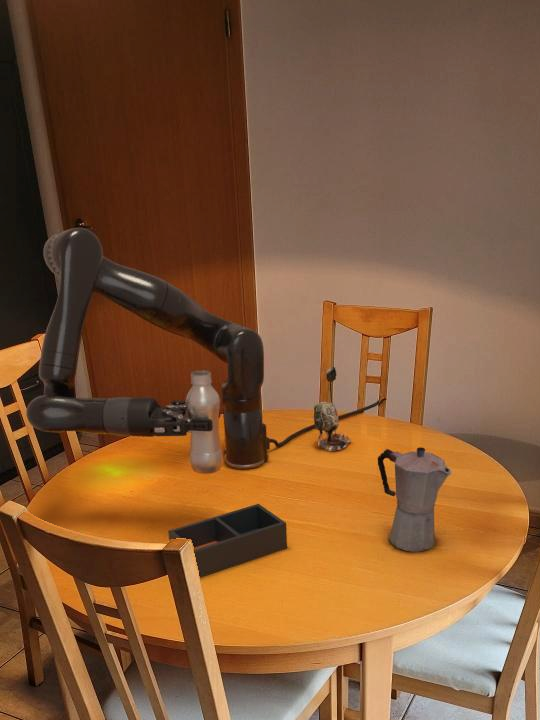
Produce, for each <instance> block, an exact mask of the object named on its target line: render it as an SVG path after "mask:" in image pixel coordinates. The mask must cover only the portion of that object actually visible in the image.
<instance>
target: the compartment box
mask: <svg viewBox="0 0 540 720" xmlns="http://www.w3.org/2000/svg"><path fill="white" fill-rule="evenodd" d="M287 533H288V532H287V522H286V521H284V520H283V519H281V518H280V517H279V516H277V515H276V514H274V513H273V512H271V511H270V510H268V509H267V508H266V507H264V506H263V505H261V504H260V503H256V504H252V505H250V506H249V505H248V506H246V507H243V508H239V509H235V510H233V511H230V512H226V513H223V514H220V515H216V516H213V517H209V518H205V519H202V520H199V521H196V522H192V523H190V524H186V525H183V526H180V527H175V528H172V529H170V530H168V533H167V534H168V541H170V540H171V539H176V538H186V539H191V540H192V543H193V546H194V553H195V557H196V562H197V566H198V570H199V576H200V578H202V577H205V576H206V577H207V576H209V575H212V574H214V573H218V572H221V571H223V570H224V571H225V570H227V569H230V568H232V567H235V566H238V565H242V564H244V563H248V562H251V561H253V560H256V559H259V558H262V557H265V556H269V555H272V554H274V553H277V552H279V551H282V550H283V551H284V550H286V549H288V540H287V539H288V538H287V536H288V535H287Z"/></svg>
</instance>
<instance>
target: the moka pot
mask: <svg viewBox="0 0 540 720" xmlns="http://www.w3.org/2000/svg"><path fill="white" fill-rule="evenodd" d="M385 459H389V461H390V462H392V463H394V479H395V481H394V482H395V490H391V489H390V486H389V483H388V475H387V471H386V466H385V463H384V460H385ZM445 463H446V461H445V459H444V458H442V457H440V456H438V455H436V454H434V453H432V452H426V448H425V447H421V446H420V447H417V448H416V451H409V452H405V453H402V452H400V451H393V450H391V449H389V448H386V449H385V450H383V452H381V453H380V455H378V456H377V466H378V470H379V472H380V477H381V480H382V485H383V491H384V493H385V494H386V495H389V496H391V497H396V504H397V505H396V508H395V512H394V517H393V521H392V525H391V529H390V533H389V539H388V540H389V542H390V543H391V544H392V546H394V547H395V548H397V549H399V550H402V551H405V552H411V553H412V552H413V553H416V552H417V553H418V552H420V553H421V552H425V551H428V550H429V549H431V548H432V547H433V546H434V544H435V539H436V536H435V535H436V534H435V505H436V502H437V498H438V494H439V492H440V491H439V490H440V489H441V488H442V486H443V484H444V483H445V482H446V480H447V479H448V477H449V476H451V475H452V474H453V472H452V469H450V467H448V466H447V465H445Z"/></svg>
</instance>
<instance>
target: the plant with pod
mask: <svg viewBox="0 0 540 720" xmlns="http://www.w3.org/2000/svg"><path fill="white" fill-rule="evenodd" d="M325 378H326V380H327V382H329V395H330V401H320V402H319V403H316V404H315V405H314V407H313V423H314V424H315V428H314V429H315V430H316V431H317V430H318V431H319V435H318V437H317V438H318V444H317V446H318V447H319V448H320V449H322V450H324V451H328V452H329V451H330V452H335V451H336V452H337V451H340V450H342V449H343V448H346V447H347V446H348V444H350V442H352V439H350V437H349V436H348V435H347V436H345V434H344V433H343V432H339V433H337V432H336V431H337V430H338V428H339V426H340V425H339V424H340V423H339V420H340V419H339V418H338V416H339V415H338V411H337V407H336V405H335V403H333V393H332V383H333V382H334V381H335V380H337V370H336V367H335V366H332V365H331V366H330V367H328V369H327V370H326V373H325ZM338 419H339V420H338ZM314 424H313V425H314ZM323 432H324V433H325V434H326V436H327V437H326V438H323V439H322V437H323V434H324V433H323Z"/></svg>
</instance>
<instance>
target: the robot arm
mask: <svg viewBox="0 0 540 720" xmlns="http://www.w3.org/2000/svg"><path fill="white" fill-rule="evenodd" d="M43 259H44V262H45V264H46V266H47V268H49V270H50V271H51V272H52V273H53V274H54V275H55V276H57V277H58V278H60V280H59V290H58V295H57V299H56V303H55V306H54V309H53V312H52V314H51V316H50V319H49V322H48V324H47V327H46V330H45V333H44V337H43V341H42V345H41V346H42V347H41V351H40V359H39V366H38V377H39V380H40V381H42V382H43V388H44V389H43V395H38V396H37V397H35V398H33V399H32V400H31V401H30V402H29V403H28V405H27V407H26V411H25V412H26V413H25V414H26V418H27V421H28V423H29V424H30V426H32V427H33V428H34V429H36V430H38V431H39V432H45V433H52V434H62V433H65V432H81V433H86V434H94V435H114V436H119V437H120V436H121V437H147V438H148V437H149V438H153V437H185V436H187V435H188V433H189V434H191V432H192V430H193V431H212V429H213V423H212V420H211V419H191V418H189V416H188V412H187V407H186V400H175V399H174V400H172V401H171V404H167V405H163V406H160V404H159V403H158V402H159V401H158V400H157V399H156V398H154V397H140V396H139V397H138V396H137V397H133V396H132V397H131V396H120V397H119V396H117V397H77V396H76V395H77V393H76V391H77V389H76V375H77V369H78V363H79V357H80V356H79V355H80V349H81V343H82V337H83V332H84V327H85V323H86V317H87V315H88V314H87V313H88V310H89V306H90V302H91V299H92V295H93V292H94V293H97V294H98V295H101V296H103V297H105V298H107V299H108V300H110V301H111V302H113V303H115V304H116V305H117V306H119V307H121V308H123V309H124V310H126V311H128V312H129V313H132V314H134V315H135V316H137V317H139V318H141V319H142V320H144V321H146V322H147V323H150V324H151V325H154V326H155V327H157V328H159V329H162V330H164V331H166V332H168V333H171V334H173V335H176V336H179V337H182V338H186V339H187V340H190V341H193V342H194V343H196V344H198V345H199V346H201V347H202V348H204V349H205V350H207V351H208V352H210V353H211V354H213V355H214V356H215V357H216V358H217V359H219V360H220V361H222V362H224V363H226V364H227V380H225V381H223V382H222V384H221V402H222V403H221V404H222V415H223V416H222V417H223V429H224V430H223V431H224V444H225V449H224V450H223V456H225V463H226V465H227V467H230V468H231V469H237V470H250V469H255V468H259V467H260V466H262V465H264V463H266V462H268V461H269V459H268V457H269V456H268V451H269V450H271V443H272V444H274V445H275V447H278V448H281V447H283V446H285V445H286V444H288V443H289V442H290V441H291V440H292V439H294V438H296V437H297V436H299V435H301V434H304V433H306V432H308V431H310V430H312V429H316V428H315V424H311V425H309V426H307V427H304V428H302V429H300V430H298V431H295V432H294V433H292V434H291V435H289V436H287V437H286V438H285V439H284V440H283V441H281V442H278V441H277V439H275V438H270V437H268V436H267V425H266V423H264V421H263V405H262V386H263V385H264V380H265V350H264V343H263V339H262V337H261V336H260V333H258V332H257V331H255V330H254V329H252V328H249V327H247V326H245V325H241V324H239V323H236V322H232V321H229V320H227V319H225V318H222V317H220V316H219V315H215V314H213V313H211V312H209V311H208V310H206V309H205V308H204V307H202V306H201V305H200V304H199V303H198V302H197V301H196V300H194V298H192V297H191V296H190V295H189V294H187V293H186V292H184V291H183V290H181V289H180V288H178V287H176V286H175V285H173V284H171V283H169V282H168V281H166V280H165V279H163V278H161V277H159V276H156V275H154V274H151V273H149V272H145V271H143V270H139V269H136V268H132V267H128V266H125V265H121V264H119V263H117V262H115V261H112V260H111V259H110V258H107V257H106V256H104V249H103V245H102V243H101V241H100V239H99V237H98V236H97V235H96V233H94V232H93V231H91V230H90V229H87V228H84V227H74V228H69V229H66V230H63V231H59V232H57V233H55V234H53V235H51V236H50V237H49V238H48V239H47V240H46V241H45V244H44V246H43ZM379 399H380V397H379V398H378V400H377V401H376V402H374V403H372V404H369V405H367V406H363V407H362V408H358V409H355V410H353V411H350V412H347V413H343V414H341V415H338V418H339V419H338V420H342V419H344V418H347V417H351V416H353V415H354V416H355V415H357V414H361V413H363V412H365V411H368V410H370V409H372V408H375V407H377V406H379V405H380V404H381V402H382V401H383V399H382V400H381V401H380V403H379ZM386 400H387V397H386V398H385V400H384V401H386ZM220 418H221V409H220V410H219V419H220Z"/></svg>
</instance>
